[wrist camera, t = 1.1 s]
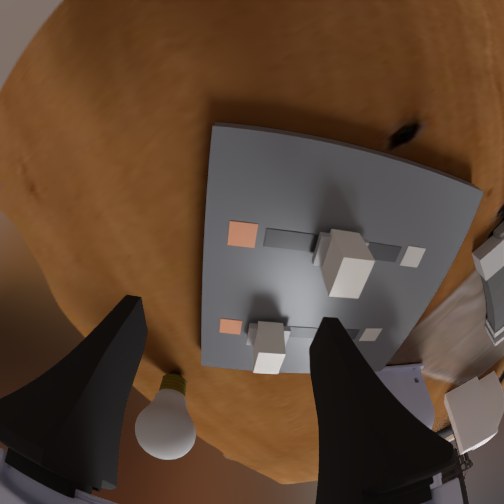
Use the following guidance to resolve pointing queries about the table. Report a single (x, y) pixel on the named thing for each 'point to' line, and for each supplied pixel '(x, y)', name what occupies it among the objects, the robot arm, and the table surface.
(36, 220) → the table surface
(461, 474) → the microphone
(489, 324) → the alarm clock
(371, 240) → the panel
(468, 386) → the white chamfered block
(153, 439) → the light bulb
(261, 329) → the breaker on
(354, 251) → the breaker
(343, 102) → the table surface
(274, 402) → the table surface
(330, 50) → the table surface
